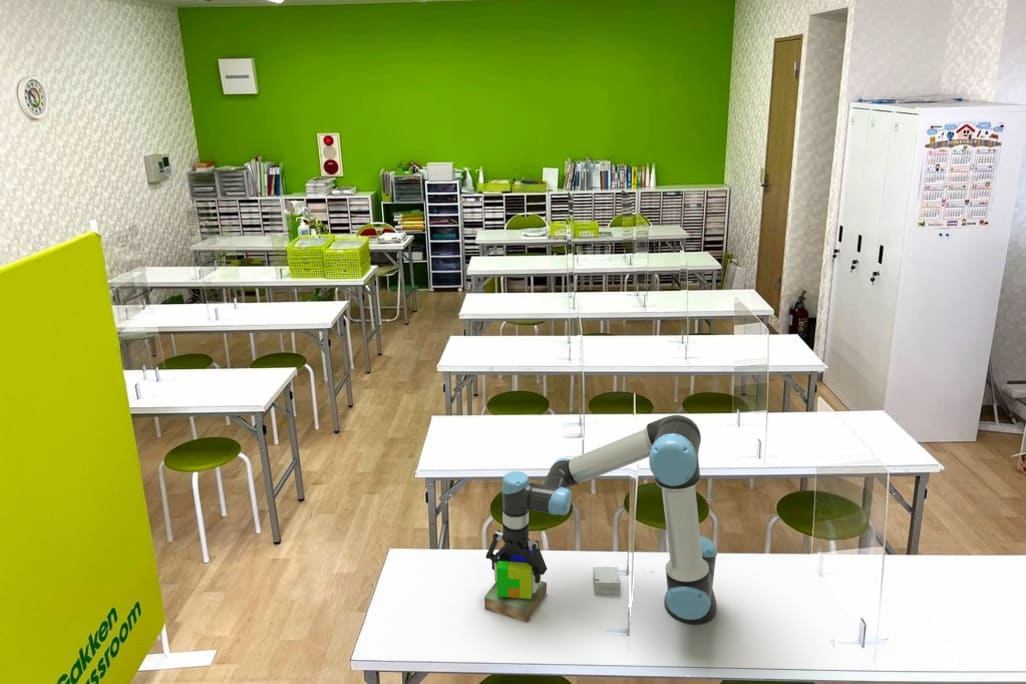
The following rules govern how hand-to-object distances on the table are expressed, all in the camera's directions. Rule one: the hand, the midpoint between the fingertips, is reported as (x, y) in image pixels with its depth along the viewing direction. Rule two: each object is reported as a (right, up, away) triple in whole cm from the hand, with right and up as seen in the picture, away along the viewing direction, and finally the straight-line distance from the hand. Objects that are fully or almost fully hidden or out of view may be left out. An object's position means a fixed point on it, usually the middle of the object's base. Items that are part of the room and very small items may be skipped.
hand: (516, 584), depth 229 cm
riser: (0, -6, +2) cm, 6 cm away
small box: (+28, -4, +8) cm, 29 cm away
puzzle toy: (0, -1, 0) cm, 1 cm away
